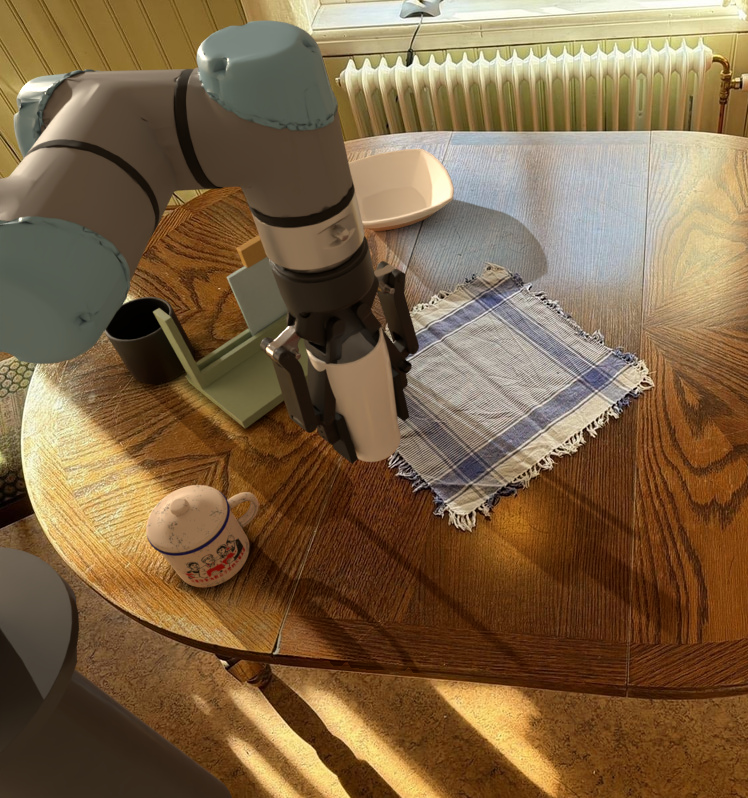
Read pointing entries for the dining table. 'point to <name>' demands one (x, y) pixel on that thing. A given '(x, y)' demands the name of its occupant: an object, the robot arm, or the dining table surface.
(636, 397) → the dining table surface
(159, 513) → the teacup with lid
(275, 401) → the window frame
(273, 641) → the dining table surface
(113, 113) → the robot arm
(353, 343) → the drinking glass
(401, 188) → the bowl
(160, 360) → the mug
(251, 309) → the panel
